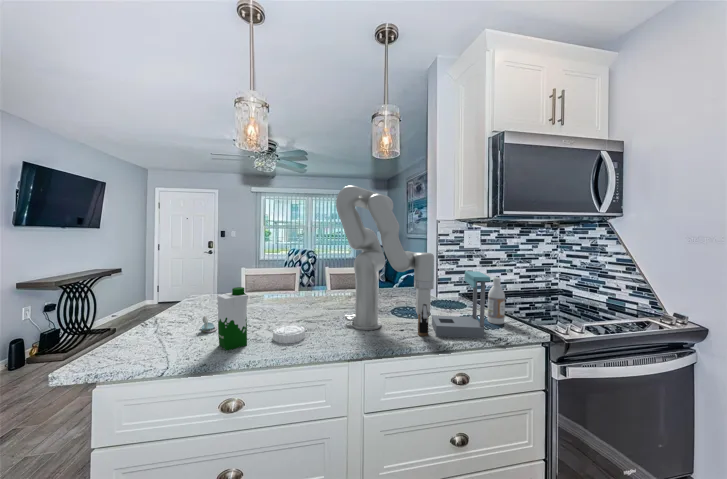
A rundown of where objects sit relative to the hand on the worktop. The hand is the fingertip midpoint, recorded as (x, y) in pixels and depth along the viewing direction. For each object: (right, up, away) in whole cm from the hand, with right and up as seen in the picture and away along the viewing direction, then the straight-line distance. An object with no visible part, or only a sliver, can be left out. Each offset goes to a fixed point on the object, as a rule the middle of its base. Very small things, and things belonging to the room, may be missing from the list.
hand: (423, 330), depth 121 cm
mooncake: (-52, -2, -4) cm, 52 cm away
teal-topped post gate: (+22, -2, +4) cm, 22 cm away
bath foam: (+36, -2, +17) cm, 39 cm away
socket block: (+15, -2, +5) cm, 15 cm away
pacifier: (-85, -1, +3) cm, 86 cm away
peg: (0, -2, 0) cm, 2 cm away
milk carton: (-70, -2, -12) cm, 71 cm away
